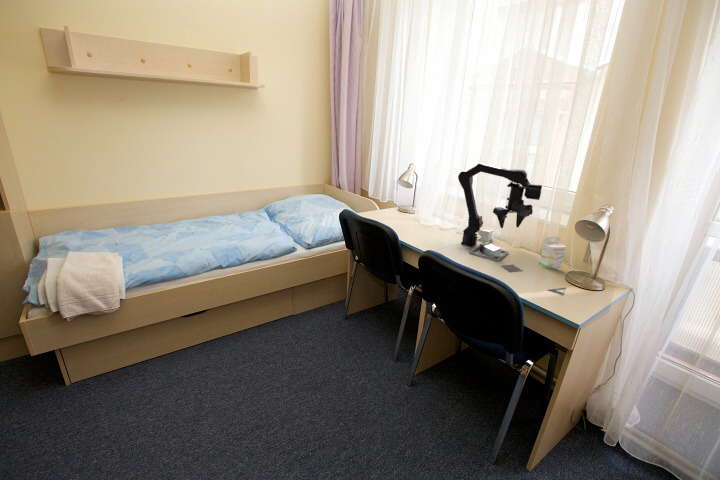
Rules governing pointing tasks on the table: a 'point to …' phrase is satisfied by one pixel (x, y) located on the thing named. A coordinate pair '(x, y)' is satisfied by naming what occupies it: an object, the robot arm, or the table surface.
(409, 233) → the table surface
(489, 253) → the strut
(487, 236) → the beige cube
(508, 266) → the stud plate
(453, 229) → the table surface
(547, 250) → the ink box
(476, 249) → the tray
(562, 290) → the external hard drive
